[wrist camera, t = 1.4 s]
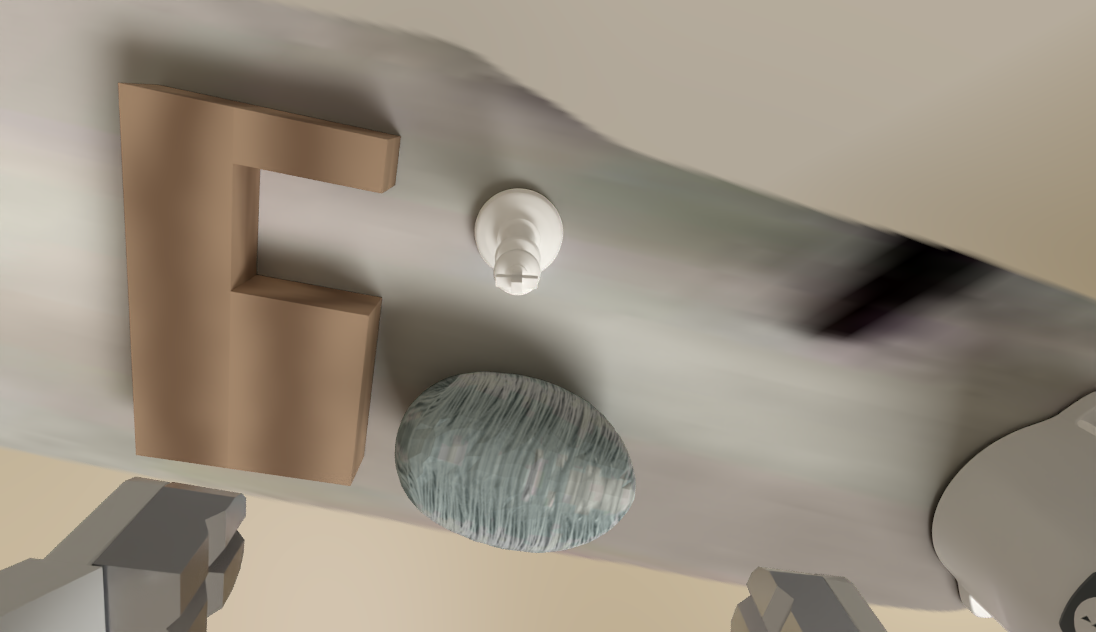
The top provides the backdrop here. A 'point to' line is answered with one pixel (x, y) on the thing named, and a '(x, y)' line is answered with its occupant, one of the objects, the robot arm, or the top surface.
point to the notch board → (240, 289)
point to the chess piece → (518, 238)
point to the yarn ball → (513, 462)
